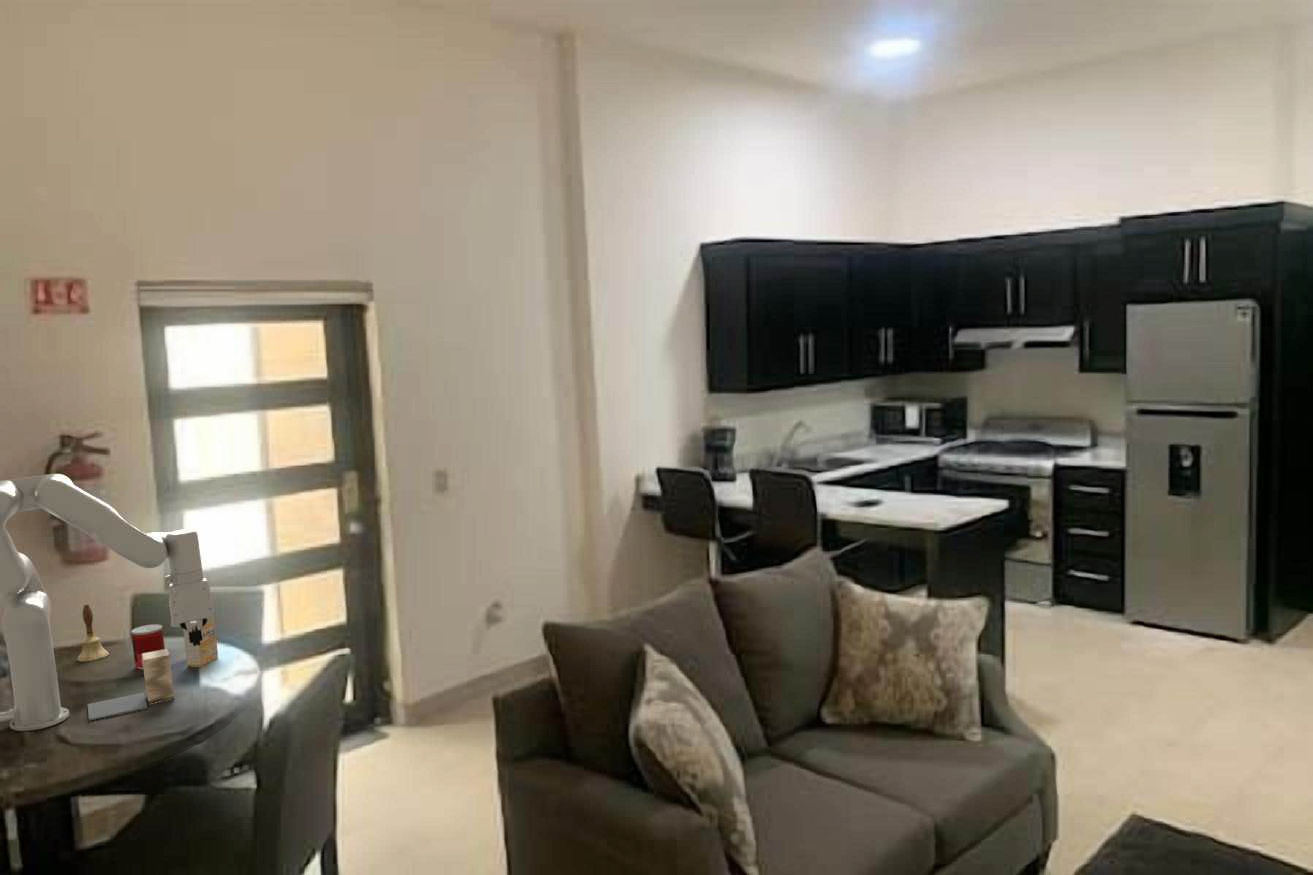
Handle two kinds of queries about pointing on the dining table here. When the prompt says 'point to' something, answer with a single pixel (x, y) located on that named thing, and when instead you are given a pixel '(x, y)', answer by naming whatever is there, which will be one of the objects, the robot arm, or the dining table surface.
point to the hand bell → (91, 640)
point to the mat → (116, 706)
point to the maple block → (158, 676)
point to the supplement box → (201, 645)
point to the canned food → (146, 641)
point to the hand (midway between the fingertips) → (196, 644)
